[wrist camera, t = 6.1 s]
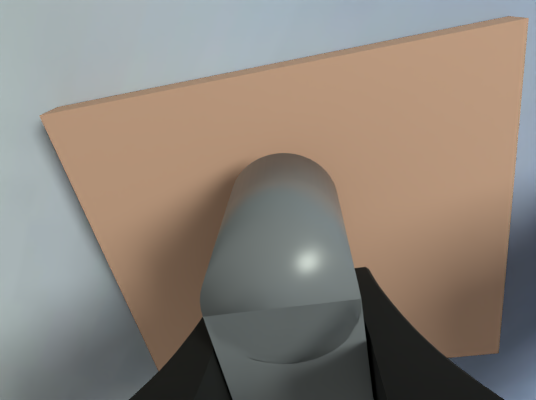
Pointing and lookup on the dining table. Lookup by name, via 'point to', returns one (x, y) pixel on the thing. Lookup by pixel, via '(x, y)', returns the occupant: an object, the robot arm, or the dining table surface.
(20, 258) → the dining table surface
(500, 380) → the dining table surface
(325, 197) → the plug
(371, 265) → the mat
